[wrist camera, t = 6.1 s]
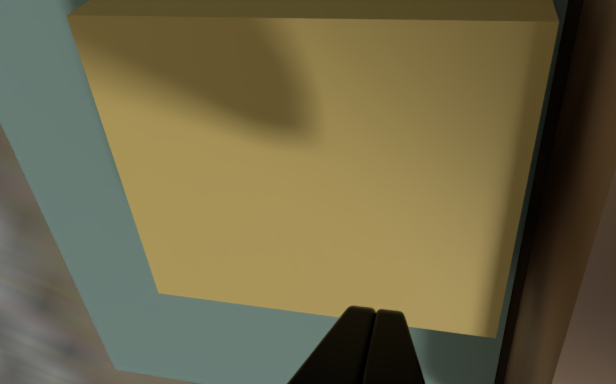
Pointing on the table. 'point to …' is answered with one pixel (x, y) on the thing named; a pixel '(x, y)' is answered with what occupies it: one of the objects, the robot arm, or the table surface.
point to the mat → (128, 247)
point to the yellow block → (325, 147)
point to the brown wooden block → (575, 227)
